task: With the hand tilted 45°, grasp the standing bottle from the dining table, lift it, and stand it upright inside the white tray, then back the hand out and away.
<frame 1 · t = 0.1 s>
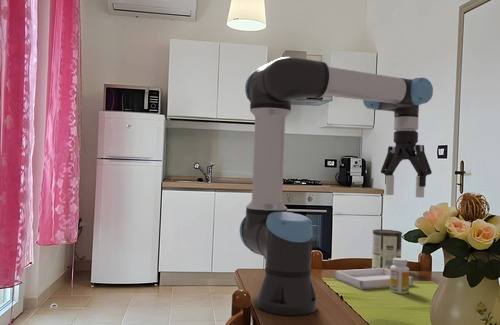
hand: (404, 196, 148), 28 cm above the table, tool pointing down, fingers open, 13 cm apart
supplement bottle: (399, 292, 135), on the table
coffee can: (385, 270, 166), on the table
white tray: (373, 281, 146), on the table
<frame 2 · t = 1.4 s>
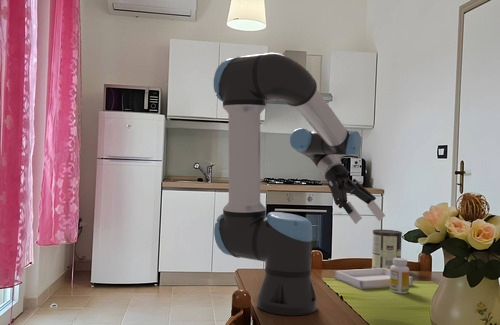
hand: (370, 219, 143), 20 cm above the table, tool tilted 45°, fingers open, 13 cm apart
nothing on the table moved.
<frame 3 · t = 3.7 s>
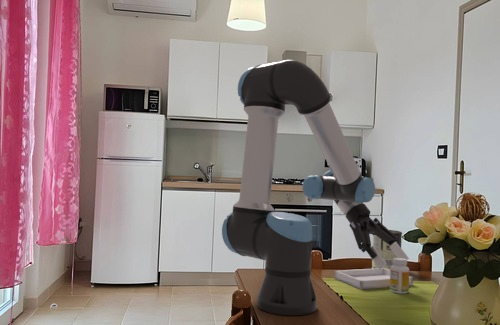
hand: (394, 263, 138), 8 cm above the table, tool tilted 45°, fingers open, 13 cm apart
nothing on the table moved.
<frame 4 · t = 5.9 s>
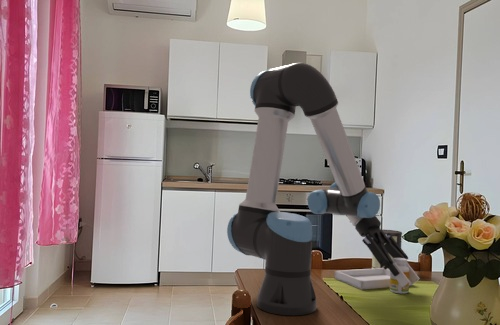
hand: (411, 282, 132), 3 cm above the table, tool tilted 45°, fingers closed on supplement bottle, 5 cm apart
supplement bottle: (399, 292, 135), on the table, touching gripper
everything else where it was.
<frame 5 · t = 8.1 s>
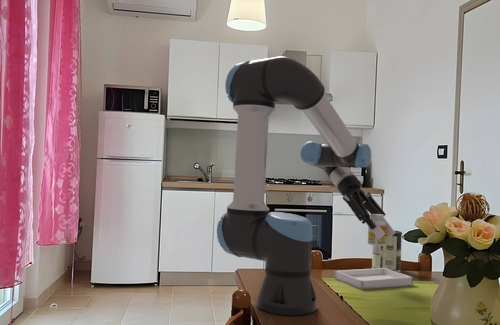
hand: (386, 235, 143), 15 cm above the table, tool tilted 45°, fingers closed on supplement bottle, 5 cm apart
supplement bottle: (376, 245, 145), point 12 cm above the table, touching gripper
everything else where it was.
when the fingers open (5 cm above the table, at t = 10.4 s): supplement bottle drops 1 cm, resting on white tray.
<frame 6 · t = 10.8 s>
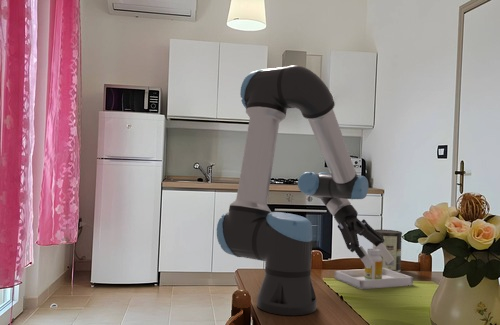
hand: (381, 263, 144), 6 cm above the table, tool tilted 45°, fingers open, 11 cm apart
supplement bottle: (373, 280, 146), resting on white tray
everything else where it was.
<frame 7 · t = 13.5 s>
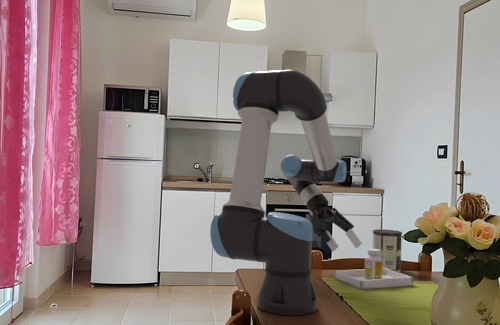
hand: (347, 247, 153), 10 cm above the table, tool tilted 45°, fingers open, 13 cm apart
nothing on the table moved.
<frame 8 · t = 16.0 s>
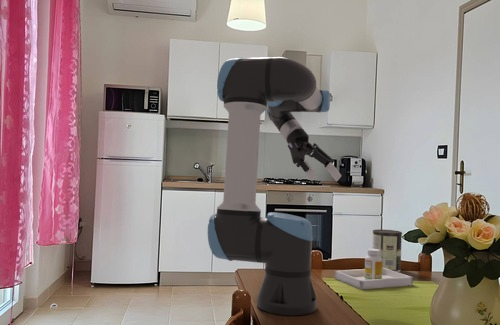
hand: (326, 178, 153), 33 cm above the table, tool tilted 45°, fingers open, 13 cm apart
nothing on the table moved.
at the end: supplement bottle inside the target area on the white tray (0.0 cm from its centre), point 0.4 cm above the white tray's base; supplement bottle tilted 0°; the gripper is holding nothing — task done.
